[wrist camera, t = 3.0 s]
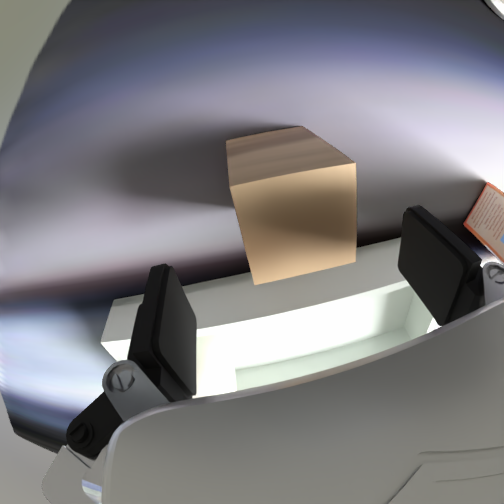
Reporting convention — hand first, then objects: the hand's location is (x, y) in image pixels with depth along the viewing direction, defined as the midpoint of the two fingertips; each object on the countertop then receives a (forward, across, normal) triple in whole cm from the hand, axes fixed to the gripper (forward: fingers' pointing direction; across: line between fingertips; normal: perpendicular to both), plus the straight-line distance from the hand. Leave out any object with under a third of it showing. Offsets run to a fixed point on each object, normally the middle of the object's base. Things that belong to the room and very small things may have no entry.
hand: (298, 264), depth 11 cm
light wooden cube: (+10, -1, -1) cm, 10 cm away
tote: (+10, 0, +14) cm, 17 cm away
